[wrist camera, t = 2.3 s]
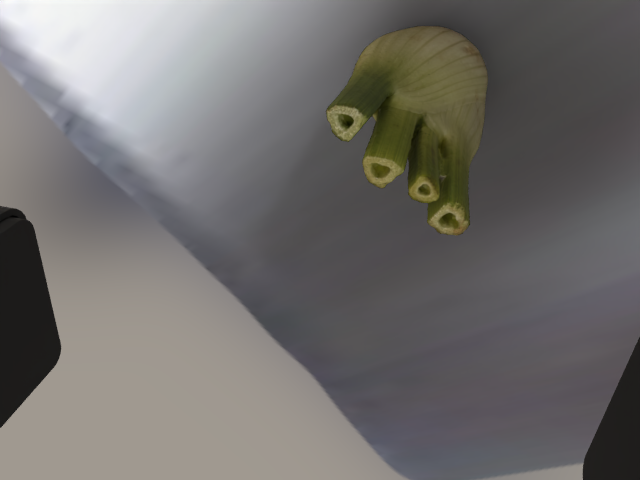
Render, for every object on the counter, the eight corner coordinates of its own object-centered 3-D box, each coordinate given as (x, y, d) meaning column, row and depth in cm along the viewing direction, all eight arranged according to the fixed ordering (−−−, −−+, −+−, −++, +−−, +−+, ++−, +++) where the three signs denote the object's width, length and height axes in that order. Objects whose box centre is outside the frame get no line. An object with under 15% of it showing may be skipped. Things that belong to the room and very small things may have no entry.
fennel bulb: (364, 30, 27) (298, 116, 17) (468, -9, 25) (460, 61, 16) (403, 141, 30) (364, 272, 20) (500, 112, 28) (512, 241, 18)
